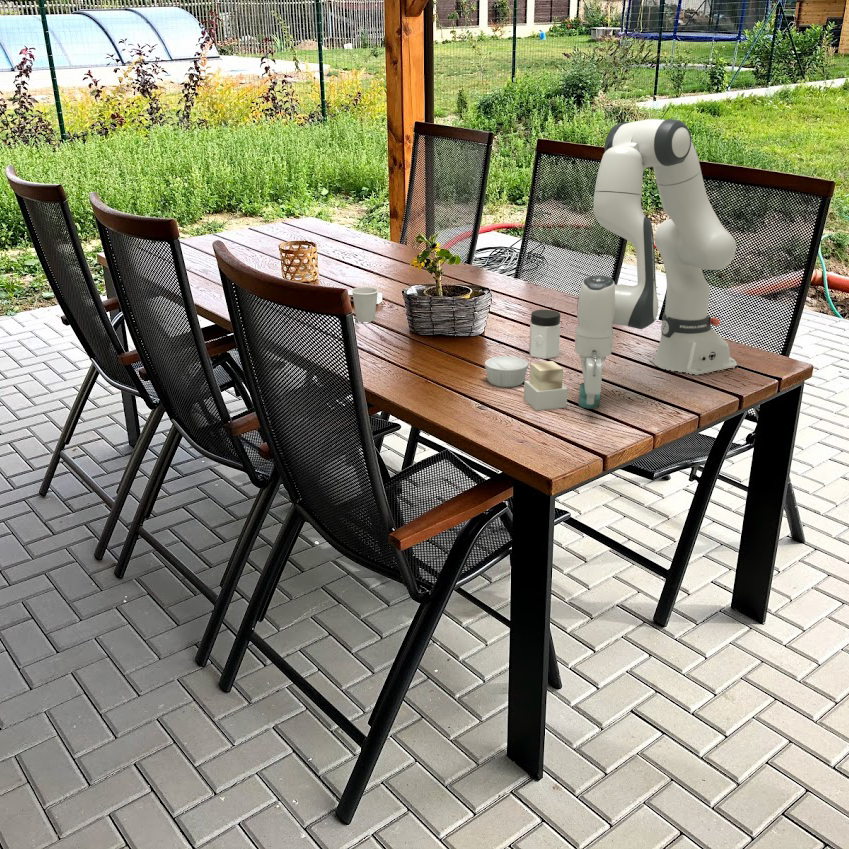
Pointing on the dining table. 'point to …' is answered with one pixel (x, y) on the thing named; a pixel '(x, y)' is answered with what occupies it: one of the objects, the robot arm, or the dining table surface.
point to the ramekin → (506, 371)
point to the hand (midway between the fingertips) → (589, 398)
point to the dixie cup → (365, 303)
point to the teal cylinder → (583, 399)
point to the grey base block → (545, 397)
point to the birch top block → (546, 375)
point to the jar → (544, 334)
